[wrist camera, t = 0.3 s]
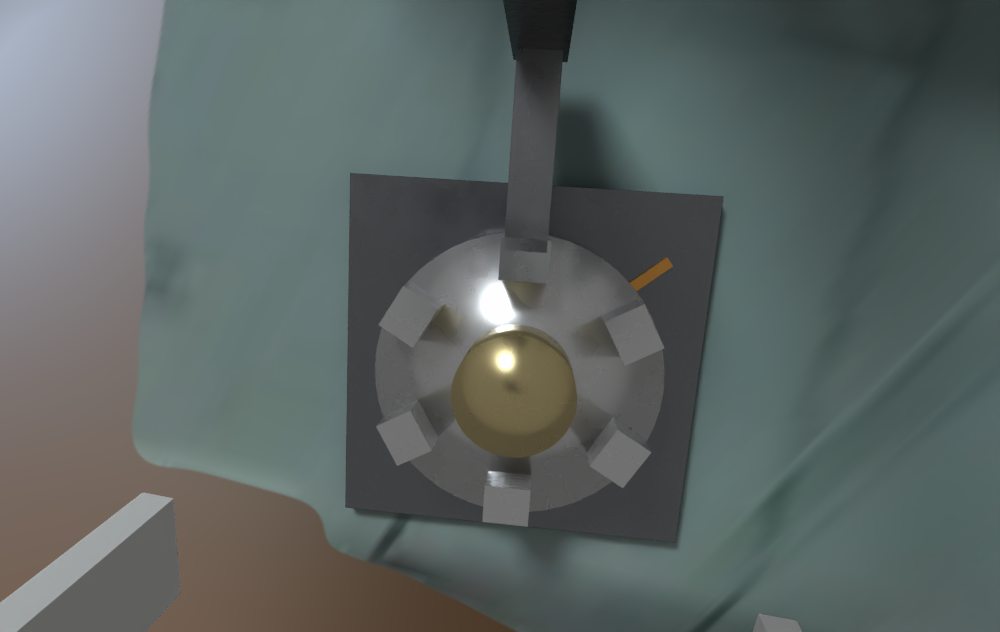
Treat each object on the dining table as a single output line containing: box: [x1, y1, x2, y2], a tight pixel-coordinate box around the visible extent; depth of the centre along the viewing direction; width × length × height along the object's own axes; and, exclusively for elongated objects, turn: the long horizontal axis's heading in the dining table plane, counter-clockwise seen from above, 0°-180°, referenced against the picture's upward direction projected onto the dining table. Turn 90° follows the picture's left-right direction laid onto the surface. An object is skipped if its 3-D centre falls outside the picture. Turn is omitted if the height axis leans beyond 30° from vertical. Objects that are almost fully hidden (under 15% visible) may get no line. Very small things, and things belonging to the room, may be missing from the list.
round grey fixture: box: [375, 0, 665, 527], centre depth 26 cm, size 30×18×18 cm, turn 176°
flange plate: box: [345, 173, 723, 542], centre depth 33 cm, size 24×24×8 cm
